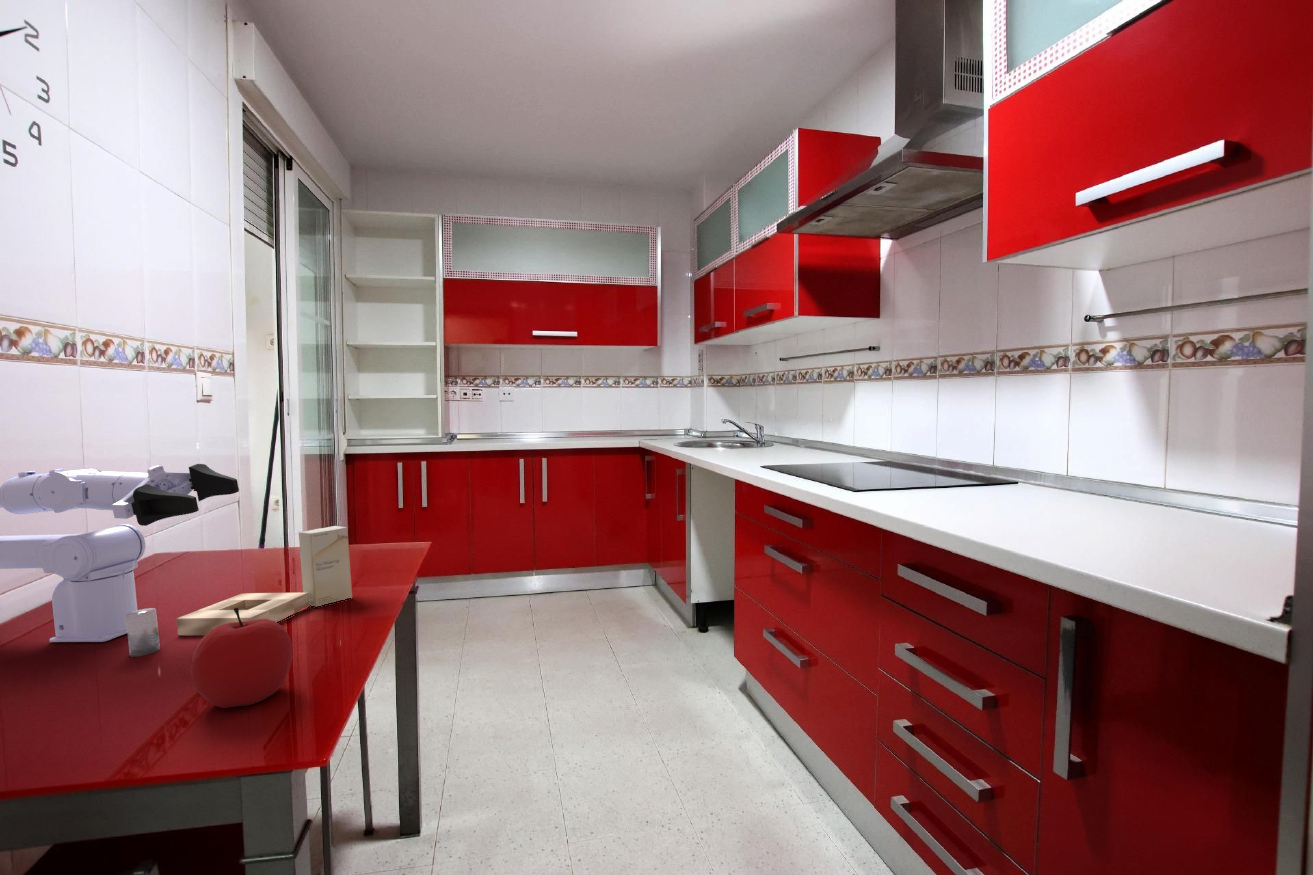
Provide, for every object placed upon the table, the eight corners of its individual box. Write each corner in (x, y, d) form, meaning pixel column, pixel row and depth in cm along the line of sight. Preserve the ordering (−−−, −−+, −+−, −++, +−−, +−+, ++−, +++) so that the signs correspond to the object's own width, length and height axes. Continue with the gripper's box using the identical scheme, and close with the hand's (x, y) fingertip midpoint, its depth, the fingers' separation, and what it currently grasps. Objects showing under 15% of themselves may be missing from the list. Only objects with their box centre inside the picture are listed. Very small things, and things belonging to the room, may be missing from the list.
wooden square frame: (178, 635, 91) (176, 618, 91) (243, 608, 103) (242, 593, 103) (251, 634, 90) (250, 617, 90) (309, 607, 101) (308, 592, 101)
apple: (178, 727, 63) (169, 629, 62) (214, 689, 72) (206, 603, 71) (282, 709, 65) (274, 615, 65) (304, 675, 74) (297, 591, 74)
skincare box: (315, 609, 101) (309, 533, 100) (302, 605, 103) (296, 531, 103) (354, 598, 106) (348, 526, 105) (341, 594, 108) (335, 524, 108)
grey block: (123, 656, 84) (119, 616, 84) (145, 647, 87) (142, 608, 87) (144, 656, 84) (139, 615, 83) (166, 647, 87) (162, 607, 86)
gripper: (75, 482, 85) (168, 486, 83) (167, 451, 99) (248, 453, 97) (88, 531, 87) (179, 535, 85) (176, 493, 100) (255, 496, 99)
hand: (216, 494), depth 91 cm, fingers open, 7 cm apart
